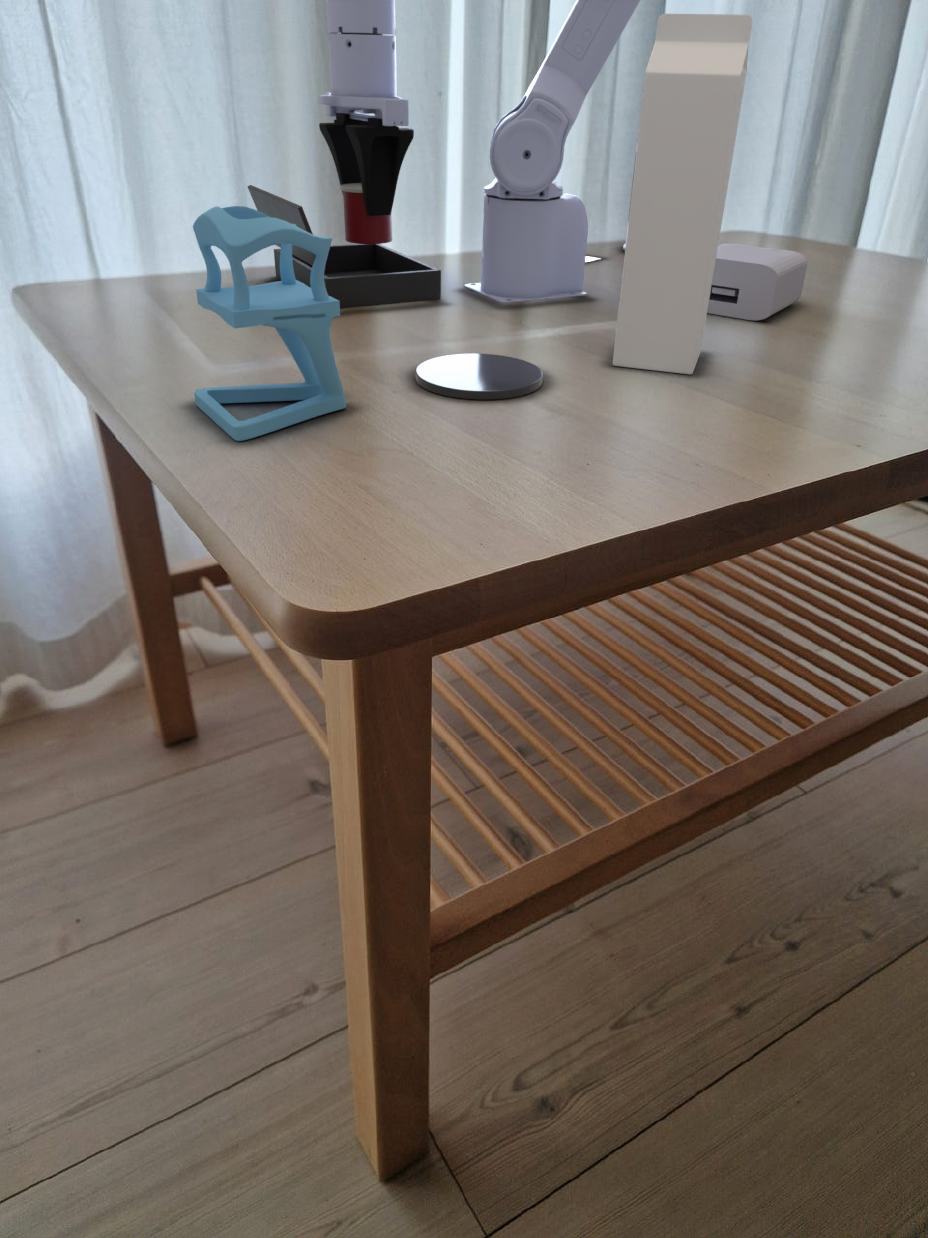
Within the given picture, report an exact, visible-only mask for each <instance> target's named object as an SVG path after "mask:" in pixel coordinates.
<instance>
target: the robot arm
mask: <svg viewBox="0 0 928 1238" xmlns="http://www.w3.org/2000/svg"><path fill="white" fill-rule="evenodd" d="M640 2H641V0H575V2H574V4H573V5H572V8H571V9H570V11H569V13H568V15H567V16H566V19H565V20H564V22H563V24H562V26H561V28H560V30H559V32H558V34H557V35H556V38H555V39H554V41H553V43H552V44H551V47H550V49H549V51H548V52H547V54H546V56H545V58H544V59H543V62H542V64H541V65H540V67H539V69H538V71H537V72H536V74H535V76H534V77H533V79H532V81H531V82H530V84H529V86H528V88H527V90H526V91H525V93H524V95H523V97H522V98H521V100H520V102H518V104H517V105H516V106H515V107H514V108H513V109H511V110H510V111H509V112H507V113H506V114H504V115H503V116H501V118H500V119H499V120H498V122H497V123H496V125H495V127H494V129H493V130H492V131H493V132H492V135H491V138H490V146H489V147H490V148H489V161H490V162H489V163H490V167H491V171H492V173H493V175H494V179H493V181H492V182H490V183H489V184H487V185H485V186H484V187H483V193H484V194H483V205H482V206H483V207H482V208H483V209H482V210H483V211H482V237H481V239H482V240H481V266H480V267H481V268H480V269H481V270H480V282H474V283H465V284H464V285H463V287H464V288H465V289H468V290H471V291H473V292H474V293H477V294H480V295H481V296H484V297H487V298H489V299H491V300H493V301H495V302H498V303H500V304H513V303H523V302H532V301H543V300H554V299H563V298H564V299H565V298H573V297H584V296H587V295H588V293H587V292H585V291H583V289H584V279H585V277H584V276H585V267H586V262H585V258H586V256H587V247H588V246H587V245H588V234H589V220H588V214H587V210H586V206H585V205H584V203H583V201H582V200H581V199H580V198H579V196H577V195H575V194H572V193H564V188H563V186H562V185H560V184H557V182H555V180H556V179H557V177H558V176H559V174H560V171H561V169H562V166H563V163H564V155H565V145H566V142H567V138H568V136H569V133H570V132H571V130H572V128H573V126H574V124H575V123H576V121H577V118H578V116H579V114H580V111H581V109H582V106H583V104H584V101H585V99H586V97H587V96H588V93H589V92H590V90H591V88H592V86H593V84H594V83H595V81H596V79H597V77H598V76H599V74H600V72H601V70H602V69H603V67H604V65H605V64H606V63H607V60H608V58H609V57H610V55H611V53H612V51H613V50H614V47H615V46H616V45H617V42H618V41H619V39H620V37H621V36H622V34H623V32H624V30H625V28H626V26H627V24H628V23H629V21H630V20H631V18H632V16H633V14H634V12H635V10H637V7H638V6H639V4H640ZM325 6H326V8H325V9H326V25H327V28H326V29H327V42H328V61H329V63H328V64H329V82H330V83H329V84H330V92H329V91H328V92H325V93H324V94H317V103H318V104H319V105H323V106H324V105H325V116H326V117H330V118H331V117H335V119H333V122H319V124H318V127H319V130H320V133H321V135H322V137H323V139H324V140H325V143H326V145H327V147H328V148H329V152H330V154H331V156H332V161H333V162H334V166H335V169H336V173H337V176H338V181H339V187H340V186H341V185H343V184H350V183H362V191H363V198H364V204H365V208H366V212H367V215H369V216H378V215H391V211H392V212H393V207H394V203H395V196H396V190H397V185H398V180H399V176H400V172H401V169H402V165H403V162H404V159H405V157H406V154H407V151H408V150H409V148H410V145H411V143H412V141H414V138H415V137H414V136H415V131H414V129H413V128H407V127H409V126H410V125H409V123H410V121H409V99H407V98H403V97H401V96H398V92H397V90H398V89H397V88H398V87H397V83H398V82H397V36H396V34H397V31H396V29H397V28H396V0H325ZM356 111H362V112H356ZM341 194H342V195H343V191H342V190H341Z"/></svg>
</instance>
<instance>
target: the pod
mask: <svg viewBox="0 0 928 1238" xmlns="http://www.w3.org/2000/svg"><path fill="white" fill-rule="evenodd" d="M339 189H340V191H341V192H342V191H343V194H342V197H343V199H342V200H343V217H344V218H343V219H344V220H343V222H344V240H345V241H346V242H348V243H351V244H381V245H384V244H388V243H391V242H392V241H393V210H392V211H391V215H378V216H369V215H367V212H366V208H365V204H364V198H363V191H362V183H350V184H343V185H341V186H340V185H339Z"/></svg>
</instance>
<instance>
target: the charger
mask: <svg viewBox="0 0 928 1238" xmlns="http://www.w3.org/2000/svg"><path fill="white" fill-rule="evenodd" d="M808 265H809V261H808V258H807V257H806V256H805V255H804V254H803V253H800V252H798V251H794V250H789V249H780V248H772V247H766V246H765V247H764V246H755V245H748V244H741V243H729V242H726V243H721V244H718V249H717V255H716V261H715V267H714V273H713V279H712V285H711V291H710V298H709V304H708V310H707V314H712V315H717V316H722V317H728V318H735V319H740V320H747V321H763V320H765V319H767V318H769V317H771V316H773V315H774V314H776V313H778V312H779V311H781V310H783V309H785V308H787V307H789V306H791V305H792V304H795V303H796V302H798V301H799V300H800V298H801V296H802V293H803V288H804V283H805V278H806V274H807V269H808Z"/></svg>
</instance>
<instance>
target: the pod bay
mask: <svg viewBox="0 0 928 1238" xmlns="http://www.w3.org/2000/svg"><path fill="white" fill-rule="evenodd" d="M280 251H281V248H274V249H273V256H274V257H273V258H274V259H273V260H274V270H275V271H274V272H275V277H276V278H277V279H278V280H281V275H280ZM292 261H293V269H294V275H295V279H296V280H297V281H300V282H302V283H304V284H305V285H307V286H308V287H310V288H311V285H310V275H311V270H312V267H313V266H312V265H310V264H309V263H307V262H305V261H303V260H301V259H300V258H298V257H296V256H294V255H293V254H292ZM325 266H326V269H327V270H325V271H324V283H325V288H326V291H327V294H328V296H331V297H333V298H335V299H337V300H339V301H340V310H342V309H352V308H361V307H362V308H363V307H373V306H384V305H395V304H396V305H397V304H407V303H417V302H428V301H438V300H439V301H440V300H441V298H442V270H441V269H439V268H437V267H434V266H432V265H429V264H427V263H425V262H422V261H420V260H418V259H416V258H413V257H411V256H409V255H406V254H405V253H401V252H399V251H397V250H394V249H393V248H391V247H387V246H385V245H384V244H356V243H351V244H336V245H335V244H334V245H333V244H332V245H331V246H330V249H329V253H328V257H327V260H326V264H325Z"/></svg>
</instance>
